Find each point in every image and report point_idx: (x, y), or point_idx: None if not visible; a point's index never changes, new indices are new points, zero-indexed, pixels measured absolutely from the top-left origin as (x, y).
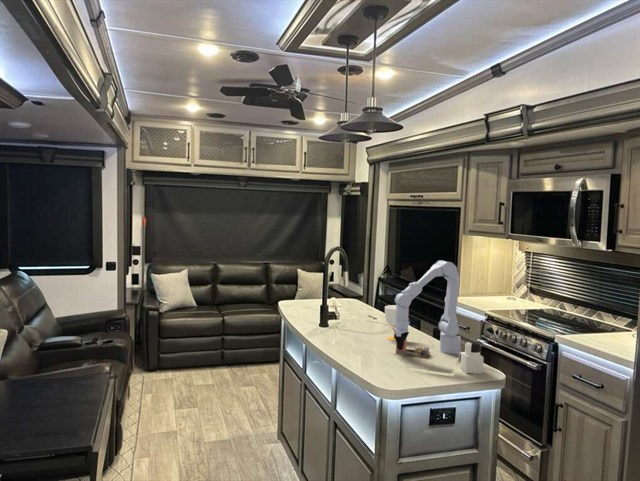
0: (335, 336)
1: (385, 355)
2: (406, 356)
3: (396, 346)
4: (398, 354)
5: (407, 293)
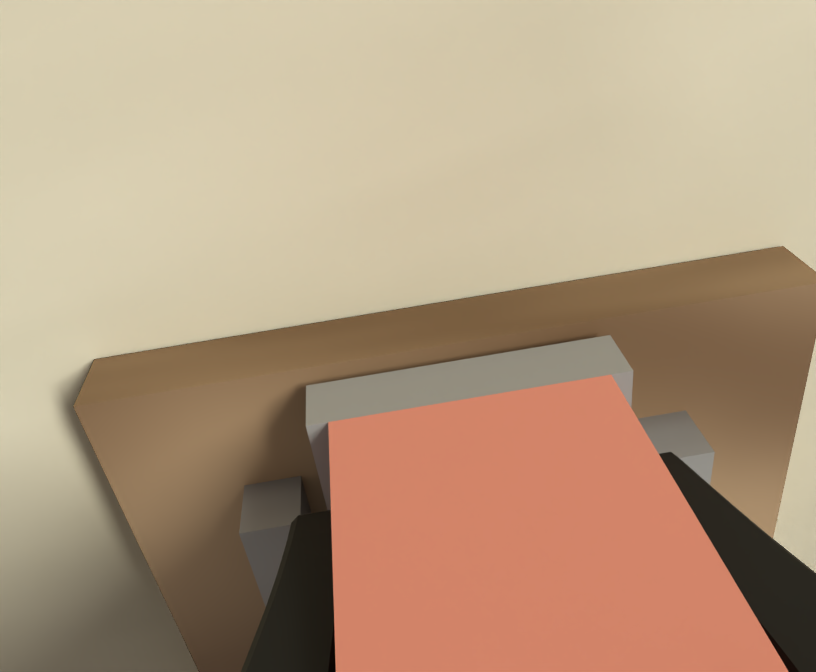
0: None
1: (81, 66)
2: (190, 645)
3: (336, 534)
4: (203, 481)
5: None
